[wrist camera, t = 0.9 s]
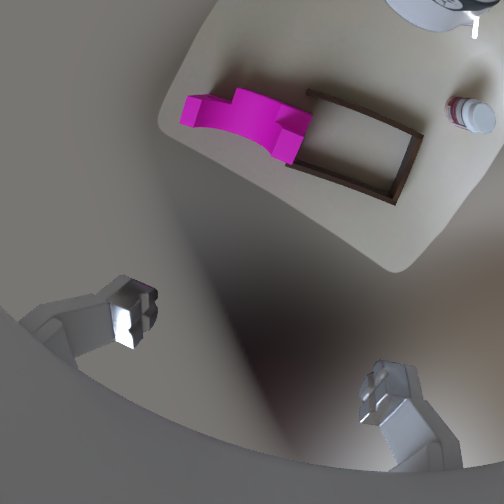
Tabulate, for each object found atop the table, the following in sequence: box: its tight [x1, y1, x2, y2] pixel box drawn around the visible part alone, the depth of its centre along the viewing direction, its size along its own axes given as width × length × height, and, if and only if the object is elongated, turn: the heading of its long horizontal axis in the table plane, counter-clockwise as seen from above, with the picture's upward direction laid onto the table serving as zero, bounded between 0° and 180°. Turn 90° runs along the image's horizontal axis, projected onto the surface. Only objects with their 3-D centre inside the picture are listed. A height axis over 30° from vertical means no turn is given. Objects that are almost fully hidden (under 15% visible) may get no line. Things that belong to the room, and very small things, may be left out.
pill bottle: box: [445, 97, 496, 134], centre depth 25 cm, size 5×5×8 cm
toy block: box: [180, 88, 312, 165], centre depth 33 cm, size 15×6×8 cm, turn 70°
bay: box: [285, 89, 424, 206], centre depth 35 cm, size 11×17×2 cm
